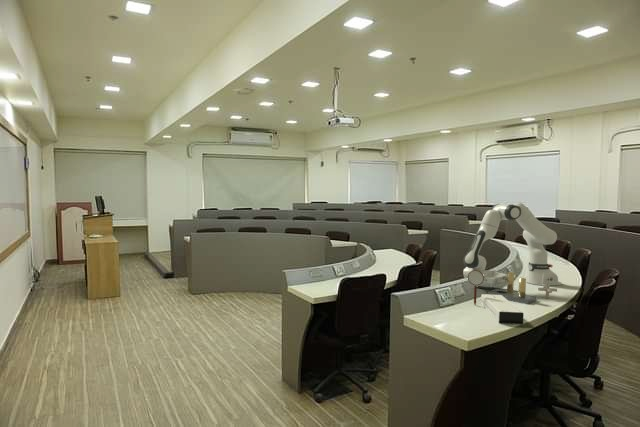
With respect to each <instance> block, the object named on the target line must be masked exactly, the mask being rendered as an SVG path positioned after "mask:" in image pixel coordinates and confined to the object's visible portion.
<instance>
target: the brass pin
mask: <svg viewBox="0 0 640 427" xmlns="http://www.w3.org/2000/svg"><path fill="white" fill-rule="evenodd" d="M507 275H508V278H507V280H506V284H507V286H506V291H510V292H514V282H515V280H514V278H515V273H514V272H510V271H508V272H507Z"/></svg>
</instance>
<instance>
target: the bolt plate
mask: <svg viewBox="0 0 640 427" xmlns="http://www.w3.org/2000/svg"><path fill="white" fill-rule="evenodd" d="M526 281H527V278H526V277H519V279H518V292H515V291H513V292H510V291H507V290H504V289H500V288H495V289H492V290H489V291H487V294H489V295H502V296H503V297H505V298H506V299H507V300H508V301H509V302H510V301H511V302H516V303H521V304H525V305H530V304H532V303H534V302H536V301H537V299H538V296H537V295H531V294H526V292H527V290H526V289H527V288H526V287H527V286H526V284H527V282H526Z"/></svg>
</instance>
